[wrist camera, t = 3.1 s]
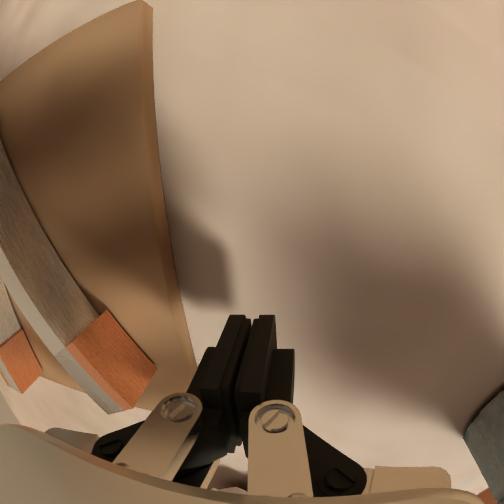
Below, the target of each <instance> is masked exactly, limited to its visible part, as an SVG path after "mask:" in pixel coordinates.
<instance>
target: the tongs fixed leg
mask: <svg viewBox="0 0 504 504" xmlns="http://www.w3.org/2000/svg"><path fill="white" fill-rule="evenodd" d="M0 373H1V375H2V377H3V379H4V380H5V382H6V383H7V385H8V386H9V387H11V388H13V389H15V390H16V391H18V392H20V393H22V394H23V393H24V392H25V391H26V390H27V389H28V387H29V386H30V385H31V384H32V383H33V382H34V381H35V380H36V379H37V378H38V377H39V376H40V375H41V374H42V373H43V370H42V369H41V367H40V365H39V363H38V361H37V359H36V357H35V355H34V353H33V351H32V349H31V347H30V345H29V343H28V340H27V338H26V336H25V334H24V332H23V330H22V329H21V327H20V325H19V323H18V320H17V318H16V315H15V313H14V310H13V308H12V305H11V302H10V299H9V297H8V294H7V291H6V288H5V285H4V282H3V280H2V278H1V276H0Z"/></svg>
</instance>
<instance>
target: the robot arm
mask: <svg viewBox="0 0 504 504" xmlns="http://www.w3.org/2000/svg"><path fill="white" fill-rule="evenodd" d="M294 371H295V354H294V349H277V340H276V322H275V315H260V316H259V319H254V321H253V324H252V326H251V319H246V316H245V315H230V316H229V318H228V320H227V322H226V325H225V327H224V330H223V332H222V334H221V337H220V339H219V341H218V344H217V346H216V347H208V348H207V349H206V351H205V353H204V355H203V358H202V360H201V362H200V364H199V366H198V368H197V370H196V373H195V375H194V377H193V379H192V381H191V383H190V385H189V388H188V390H187V392H186V393H183V392H182V393H174V394H171V395H168V396H167V397H165V398H163V399H162V400H161V401H160V402H159V403H158V405H157V406H156V407H155V408H154V410H153V411H152V412H151V414H150V415H149V416H148V418H147V419H146V420H144V421H142V422H139V423H136V424H134V425H131V426H128V427H126V428H123V429H120V430H117V431H115V432H112V433H109V434H106V435H104V436H102V437H101V438H100V437H99V436H98V435H97V434H90V433H83V432H77V431H72V430H66V429H61V428H51V429H48V430H47V431H46V432H41V431H39V430H36V429H33V428H30V427H27V426H22V425H16V424H0V504H484V503H483V501H482V500H481V499H480V498H479V497H478V496H477V495H475V494H473V493H470V492H468V491H463V490H458V489H451V478H450V475H449V474H448V472H447V471H446V470H444V469H442V468H440V467H382V466H375V468H374V469H370V468H362V467H361V466H360V465H359V464H358V463H356V462H355V461H353V460H352V459H350V458H349V457H347V456H346V455H344V454H343V453H341V452H340V451H338V450H337V449H335V448H334V447H332V446H331V445H330V444H328V443H327V442H325V441H324V440H323V439H321V438H320V437H318V436H317V435H316V434H314V433H313V432H312V431H310V430H309V429H308V428H306V427H305V426H304V425H302V418H301V414H300V411H299V409H298V408H297V407H296V406H295V405H293V393H294ZM242 441H243V446H244V450H245V455H246V457H247V458H248V495H246V494H237V493H229V492H222V491H216V490H210V489H207V487H208V485H209V483H210V481H211V479H212V477H213V475H214V473H215V471H216V469H217V467H218V465H219V462H220V458H222V457H223V456H225V455H227V453H234V451H235V447H236V446H241V444H242Z"/></svg>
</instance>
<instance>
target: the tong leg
mask: <svg viewBox="0 0 504 504" xmlns="http://www.w3.org/2000/svg"><path fill="white" fill-rule="evenodd" d="M0 276H1V278H2V280H3V282H4V284H5V285H6V287H7V289H8V291H9V292H10V294H11V296H12V297H13V299H14V300H15V302H16V304H17V305H18V307H19V308H20V310H21V311H22V313H23V314H24V316H25V317H26V319H27V320H28V322H29V323H30V325H31V326H32V328H33V329H34V330H35V332H36V333H37V335H38V336H39V337H40V339H41V340H42V341H43V343H44V344H45V345H46V347H47V348H48V349H49V351H50V352H51V353H52V354H53V356H54V357H55V358H56V359H57V360H58V362H59V363H60V364H61V365H62V366H63V368H64V369H65V370H66V371H67V372H68V373H69V375H70V376H71V377H72V378H73V379H74V380H75V381H76V382H77V384H78V385H79V386H80V387H81V388H82V389H83V390H84V391H85V392H86V393H87V394H88V395H89V396H90V397H91V398H92V399H93V400H94V401H95V402H96V403H97V404H98V405H99V406H100V407H101V408H102V409H103V410H104V411H105V412H106V413H107V414H112V413H116V412H120V411H125V410H128V409H132V408H134V406H135V404H136V403H137V401H138V400H139V398H140V396H141V395H142V393H143V391H144V390H145V388H146V387H147V385H148V383H149V382H150V380H151V379H152V377H153V375H154V374H155V372H156V371H157V367H156V366H155V365H154V364H153V363H152V362H151V361H150V360H149V359H148V358H147V357H146V355H145V354H144V353H143V352H142V351H141V350H140V349H139V348H138V346H137V345H136V344H135V343H134V342H133V341H132V339H131V338H130V337H129V336H128V335H127V334H126V332H125V331H124V330H123V329H122V327H121V326H120V325H119V324H118V323H117V321H116V320H115V319H114V318H113V316H112V315H111V314H110V312H109V311H108V310H106V311H104V312H103V313H102V314H100V315H99V314H98V313H97V311H96V310H95V309H94V307H93V306H92V305H91V303H90V302H89V301H88V299H87V298H86V297H85V295H84V294H83V292H82V291H81V290H80V288H79V287H78V285H77V284H76V283H75V281H74V280H73V278H72V277H71V275H70V274H69V272H68V271H67V269H66V268H65V266H64V265H63V263H62V261H61V260H60V258H59V257H58V255H57V253H56V252H55V250H54V249H53V247H52V245H51V244H50V242H49V240H48V238H47V237H46V235H45V233H44V232H43V230H42V228H41V226H40V224H39V223H38V221H37V219H36V217H35V215H34V213H33V211H32V209H31V208H30V206H29V204H28V202H27V200H26V198H25V196H24V194H23V191H22V189H21V187H20V185H19V183H18V181H17V179H16V176H15V174H14V172H13V169H12V167H11V165H10V162H9V160H8V157H7V155H6V152H5V150H4V147H3V145H2V142H1V139H0Z"/></svg>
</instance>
